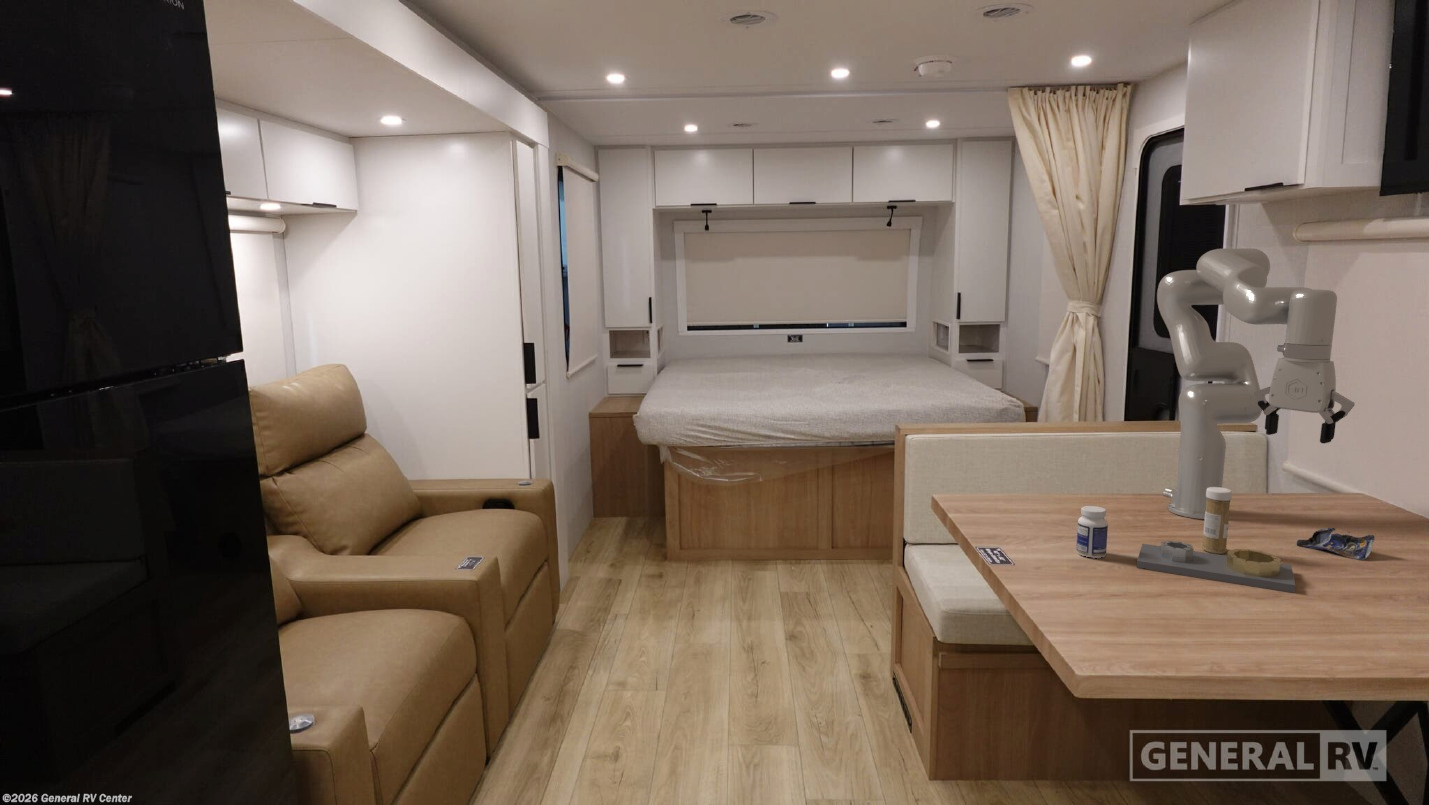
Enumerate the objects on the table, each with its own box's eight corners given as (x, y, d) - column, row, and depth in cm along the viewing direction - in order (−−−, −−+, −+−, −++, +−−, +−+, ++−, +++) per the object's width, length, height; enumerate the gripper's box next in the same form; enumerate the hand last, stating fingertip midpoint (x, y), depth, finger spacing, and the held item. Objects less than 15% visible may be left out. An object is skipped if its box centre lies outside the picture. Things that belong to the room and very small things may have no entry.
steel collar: (1154, 555, 168) (1155, 543, 168) (1172, 551, 171) (1173, 539, 170) (1179, 563, 163) (1180, 551, 163) (1198, 559, 166) (1199, 547, 165)
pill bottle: (1106, 552, 175) (1109, 506, 173) (1106, 561, 170) (1109, 514, 168) (1076, 548, 177) (1079, 503, 176) (1075, 557, 172) (1078, 510, 170)
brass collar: (1216, 565, 162) (1217, 553, 162) (1245, 558, 166) (1246, 546, 165) (1260, 579, 155) (1261, 567, 154) (1289, 572, 158) (1290, 560, 158)
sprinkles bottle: (1231, 553, 173) (1237, 491, 171) (1211, 555, 172) (1217, 492, 170) (1215, 546, 177) (1221, 485, 175) (1196, 547, 177) (1201, 486, 175)
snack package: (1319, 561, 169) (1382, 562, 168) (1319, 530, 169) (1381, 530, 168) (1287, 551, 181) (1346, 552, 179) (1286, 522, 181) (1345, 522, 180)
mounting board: (1136, 567, 166) (1137, 560, 165) (1142, 550, 176) (1142, 543, 175) (1294, 593, 152) (1295, 585, 152) (1290, 572, 162) (1291, 565, 162)
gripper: (1250, 350, 168) (1242, 433, 171) (1350, 358, 153) (1339, 448, 156) (1268, 348, 172) (1260, 428, 175) (1367, 355, 157) (1357, 443, 160)
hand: (1297, 438), depth 166 cm, fingers open, 9 cm apart
